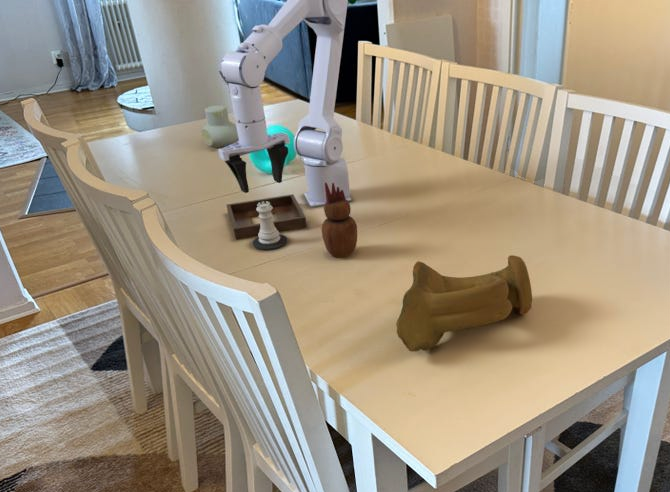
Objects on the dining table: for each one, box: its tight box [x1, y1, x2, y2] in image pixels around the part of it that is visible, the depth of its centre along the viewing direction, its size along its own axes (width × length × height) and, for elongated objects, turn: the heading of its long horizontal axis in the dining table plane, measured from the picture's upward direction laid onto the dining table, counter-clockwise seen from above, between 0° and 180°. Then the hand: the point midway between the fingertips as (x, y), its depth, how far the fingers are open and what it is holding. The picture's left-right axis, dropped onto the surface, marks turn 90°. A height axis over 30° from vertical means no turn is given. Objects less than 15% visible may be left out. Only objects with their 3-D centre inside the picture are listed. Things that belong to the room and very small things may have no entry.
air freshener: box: [200, 104, 239, 148], centre depth 190 cm, size 11×8×10 cm
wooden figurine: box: [320, 182, 358, 258], centre depth 130 cm, size 7×6×15 cm
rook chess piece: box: [256, 201, 280, 245], centre depth 137 cm, size 4×4×8 cm
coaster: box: [252, 233, 288, 251], centre depth 140 cm, size 7×7×1 cm
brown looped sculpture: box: [396, 254, 533, 353], centre depth 108 cm, size 18×13×22 cm
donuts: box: [248, 124, 298, 175], centre depth 173 cm, size 10×10×10 cm
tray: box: [226, 194, 308, 241], centre depth 148 cm, size 15×14×2 cm
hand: (261, 186), depth 140 cm, fingers open, 7 cm apart
